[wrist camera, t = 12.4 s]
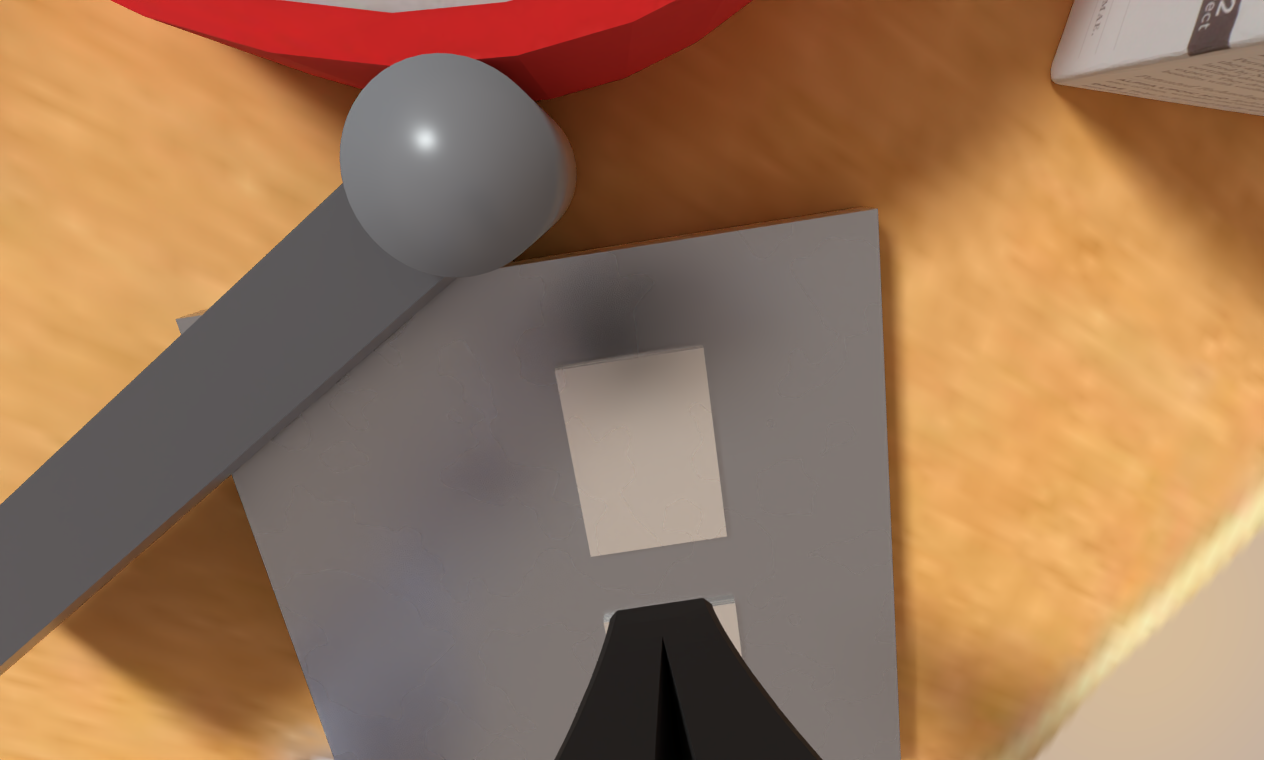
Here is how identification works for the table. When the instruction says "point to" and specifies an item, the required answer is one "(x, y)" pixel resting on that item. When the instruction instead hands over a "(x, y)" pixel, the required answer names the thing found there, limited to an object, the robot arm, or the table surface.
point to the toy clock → (454, 34)
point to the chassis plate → (596, 492)
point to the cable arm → (291, 325)
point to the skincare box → (1167, 51)
